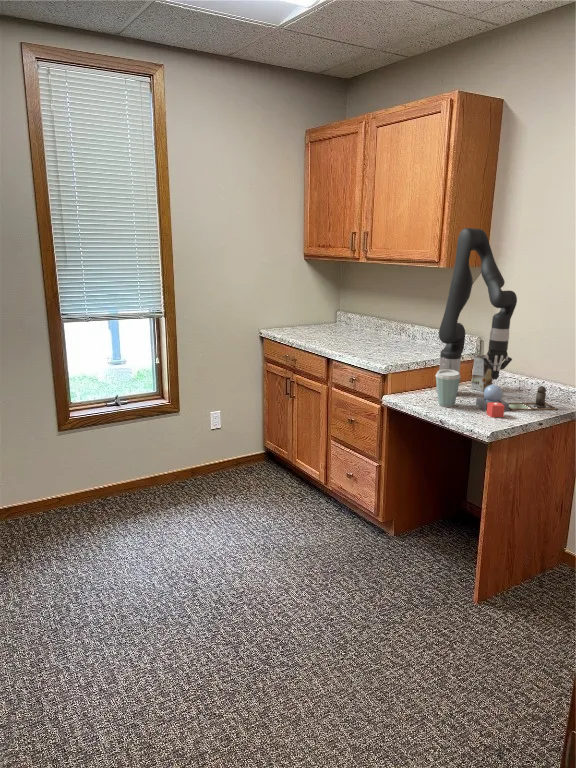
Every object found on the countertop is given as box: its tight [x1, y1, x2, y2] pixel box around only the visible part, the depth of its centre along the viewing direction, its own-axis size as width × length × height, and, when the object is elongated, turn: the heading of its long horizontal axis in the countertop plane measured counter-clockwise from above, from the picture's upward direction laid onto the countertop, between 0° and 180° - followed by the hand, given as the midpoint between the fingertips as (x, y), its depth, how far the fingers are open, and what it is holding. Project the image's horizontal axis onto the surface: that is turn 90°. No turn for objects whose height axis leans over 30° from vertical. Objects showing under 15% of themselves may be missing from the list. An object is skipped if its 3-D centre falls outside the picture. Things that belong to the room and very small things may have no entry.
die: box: [486, 402, 505, 419], centre depth 230 cm, size 5×5×5 cm
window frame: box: [507, 401, 559, 412], centre depth 244 cm, size 21×10×1 cm, turn 94°
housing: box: [475, 397, 509, 412], centre depth 242 cm, size 10×10×3 cm
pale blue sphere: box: [483, 384, 504, 402], centre depth 241 cm, size 8×8×9 cm
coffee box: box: [470, 354, 494, 392], centre depth 272 cm, size 9×6×16 cm
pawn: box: [533, 385, 547, 409], centre depth 243 cm, size 5×5×9 cm
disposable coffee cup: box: [435, 369, 462, 408], centre depth 243 cm, size 11×11×15 cm
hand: (494, 378), depth 240 cm, fingers closed
